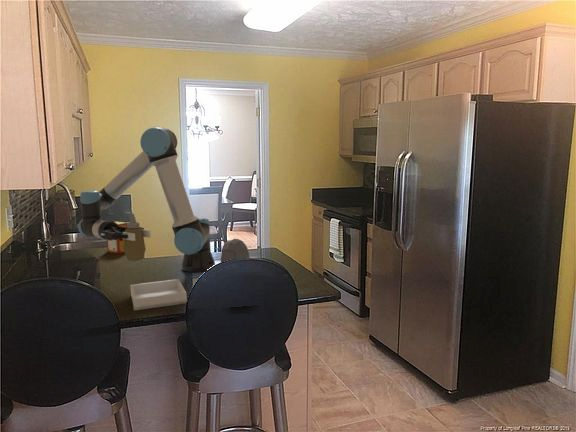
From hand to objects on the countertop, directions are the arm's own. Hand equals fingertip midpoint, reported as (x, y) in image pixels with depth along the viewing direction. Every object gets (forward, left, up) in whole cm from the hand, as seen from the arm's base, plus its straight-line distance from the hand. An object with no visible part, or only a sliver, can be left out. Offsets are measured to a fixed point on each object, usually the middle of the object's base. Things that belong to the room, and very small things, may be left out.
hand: (142, 235), depth 176 cm
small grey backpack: (-33, +13, -22) cm, 42 cm away
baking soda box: (+8, -77, -22) cm, 80 cm away
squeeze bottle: (+3, -4, -10) cm, 11 cm away
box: (-3, +12, -22) cm, 25 cm away
